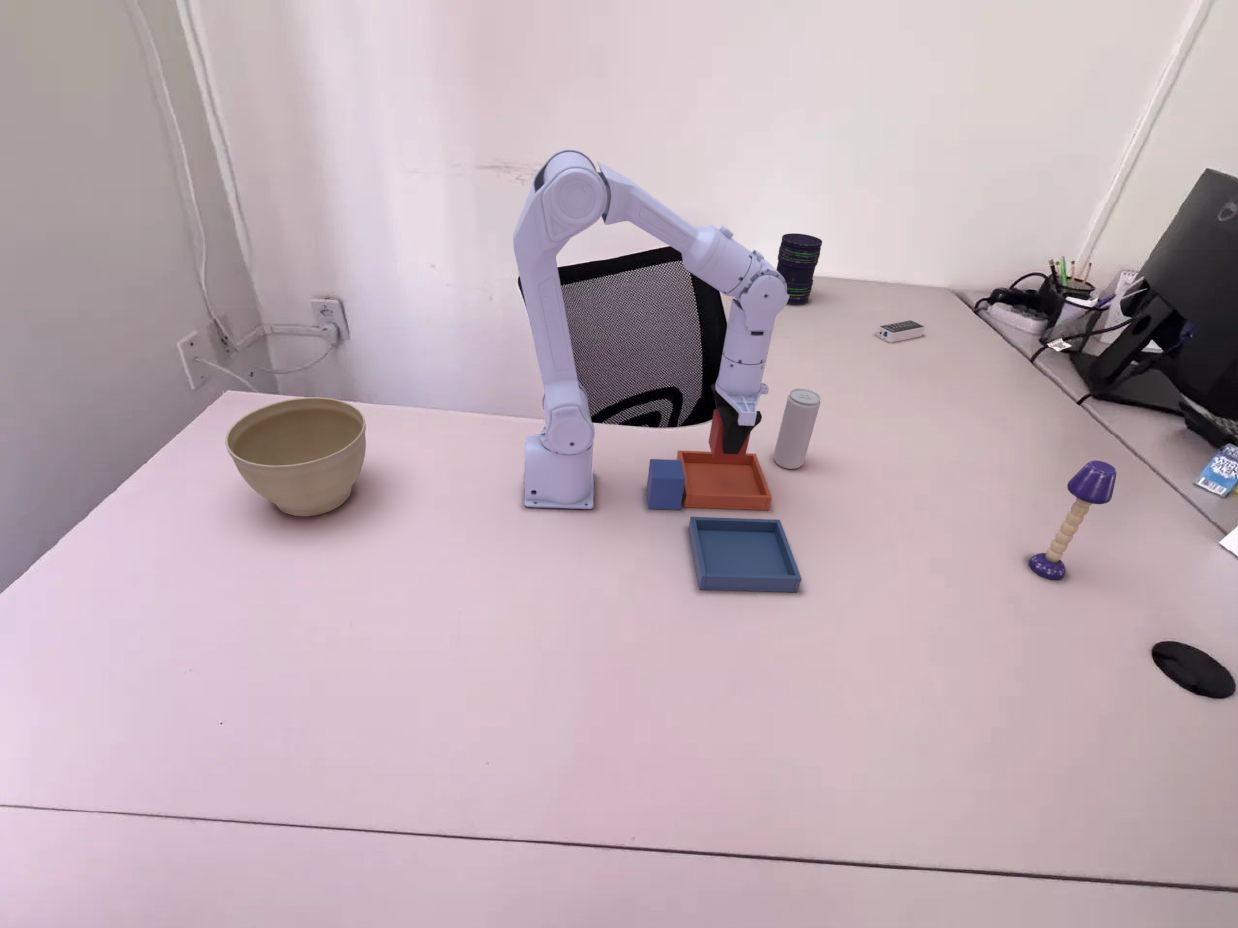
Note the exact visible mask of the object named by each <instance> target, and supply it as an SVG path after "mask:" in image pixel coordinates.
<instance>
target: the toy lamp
mask: <svg viewBox="0 0 1238 928" xmlns="http://www.w3.org/2000/svg"><path fill="white" fill-rule="evenodd" d="M1116 478H1117V469H1116V468H1115V467H1114V466H1113V465H1112V464H1110V463H1108V462H1106V461H1103V460H1098V459H1097V460H1095V459H1094V460H1090V461H1088V462H1087V463H1085V464H1084V466H1082V468H1081V469H1080V470H1078V472H1077V473H1076V474H1075V475H1074V476H1072V477H1071V478H1070V480H1069V481H1068V482H1067V485H1066V487H1067V490H1068V492H1069V493H1070V494H1071V495H1072V496H1073V497H1075V501H1074V502H1073V503H1072V505H1071V506H1070V511H1068V513H1067V514H1066V515H1065V520H1063V522H1062V523H1061V525H1060V526H1059V527H1060V529H1059V530H1057V531H1056V533H1055V536H1054V537H1055V538H1053V540H1051V543H1050V547H1049V548H1047V550H1046V552H1040V553H1039V552H1038V553H1036V554H1033V556H1031V557H1030V558H1029V560H1028V565H1029V567H1030V569H1031V570H1032V572H1034V573H1035V574H1037V575H1038V576H1040V577H1042V578H1044V579H1046V580H1051V581H1052V580H1053V581H1058V580H1059V581H1060V580H1063V578H1064V577H1065V575H1066V566H1065V564H1064V562H1063V561H1062V557H1063V554H1064V553H1065V552H1066V550H1067V549H1068V547H1069V544H1070V543H1071V542H1072V541H1073V538H1074V535H1076V533H1077V532H1078V531H1079V526H1080V525H1081V524H1082V523H1083V521H1084V520H1085V518H1084V517H1085V516H1086V515H1087V514H1088V513H1089V511H1090V507H1091V506H1092V505H1106V504H1107V503H1109V502H1111V500H1112V498H1113V494H1114V490H1115V484H1116V480H1117V479H1116Z"/></svg>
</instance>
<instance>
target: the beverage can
mask: <svg viewBox="0 0 1238 928" xmlns="http://www.w3.org/2000/svg"><path fill="white" fill-rule="evenodd" d="M821 398H822V397H821V395H820V394H818V393H817V392H816V391H814V390H812V389H807V388H793V389H792V390H790V391H789V394H788V396H787V398H786V403H785V407H784V411H783V416H782V419H781V422H780V426H779V431H778V435H777V439H776V443H775V448H774V452H773V456H772V457H773V460H774V462H775V463H776V464H777V465H778V466H779V467H782V468H783V469H788V470H796V469H798V468H800V467H802V466H803V465H804V463H805V460H806V456H807V453H808V449H809V445H810V442H811V439H812V435H813V432H814V427H815V424H816V421H817V417H818V413H819V409H820V406H821V400H822V399H821Z"/></svg>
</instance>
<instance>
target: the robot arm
mask: <svg viewBox="0 0 1238 928" xmlns="http://www.w3.org/2000/svg"><path fill="white" fill-rule="evenodd" d="M596 164H597V166H598V168H599V171H597V168H596V165H595V164H594V162H593V161H592V159H591V158H590V157H589V156H588V155H587V154H585V153H584V152H582V151H580V150H577V149H573V148H568V149H567V148H566V149H561V150H559V151H557V152H555V153H554V154H552V155H551V156H550V157H549V158H548V159H547V160H546V161H545V162H544V163H543V164H542V166H541V167H540V168H539V169H538V170H537V172H536V173H535V174H534V175H533V178H532V182H531V186H530V188H529V192H528V194H527V196H526V199H525V202H524V205H523V207H522V209H521V212H520V214H519V218H518V220H517V222H516V225H515V228H514V230H513V234H512V241H513V243H512V244H513V253H514V257H515V262H516V265H517V271H518V276H519V280H520V285H521V290H522V294H523V298H524V303H525V308H526V312H527V317H528V321H529V326H530V331H531V335H532V340H533V344H534V348H535V353H536V358H537V363H538V366H539V371H540V377H541V381H542V387H543V395H542V400H541V402H542V403H541V405H542V407H543V413H544V426H543V428H542V430H541V431H540V433H538V434H537V433H536V434H529V435H526V438H525V444H524V445H525V447H524V463H523V464H524V467H523V468H524V470H523V484H524V507H526V508H546V509H547V508H549V509H573V510H574V509H575V510H577V509H579V510H592V509H594V474H593V473H592V472H593V456H594V455H593V454H594V439H595V434H596V431H595V426H594V423H593V422H592V417H591V411H590V407H589V395H588V392H587V391H586V389H585V388H584V387H583V386H582V384H581V383H580V381H579V379H578V373H577V368H576V362H575V356H574V351H573V346H572V340H571V334H570V330H569V329H570V328H569V324H568V318H567V312H566V307H565V302H564V296H563V291H562V285H561V279H560V273H559V269H558V268H559V267H558V262H557V255H558V254H559V253H560V252H561V250H562V249H563V248H564V247H565V246H566V244H567V243H568V242H569V241H570V240H571V239H572V238H573V237H575V236H577V235H579V234H580V233H582V232H584V231H585V230H587V229H589V228H591V226H593V225H595V224H596V223H597V222H598V221H599V220H600V219H602V221H603V223H604V225H606V226H607V225H608V226H609V225H614V224H617V223H622V222H629V223H631V224H633V225H634V226H635V227H637V228H639V229H641V230H643V231H644V232H646V233H648V234H649V235H651V236H652V237H654V238H656V239H657V240H659V241H661V242H663V243H664V244H666V245H668V246H669V247H671V248H673V249H674V250H676V251H678V252H679V253H681V258H682V259H681V260H682V265H683V268H684V269H685V270H686V271H687V272H689V273H691V274H692V275H694V276H695V277H697V278H698V279H700V280H702V281H703V282H704V283H706V284H707V285H709V286H711V287H712V288H714V289H715V290H717V291H718V292H720V293H722V294H723V295H724V296H727V297H733V298H732V299H731V304H730V310H729V316H728V318H727V325H726V331H725V337H724V342H723V348H722V352H721V353H722V355H721V359H720V366H719V371H718V376H717V379H716V381H715V383H712V384H711V385H710V388H711V392H712V394H713V397H714V404H715V409H718V411H719V414H720V417H721V420H722V428H723V436H722V447H723V452H724V454H738V453H739V452H740V450H741V448H742V446H743V444H744V442H745V440H746V438H747V437H748V435H749V433H750V432H752V431H753V430H754V429H755V428H756V427H757V426H758V425H759V424H760V423H761V421H762V419H763V416H762V413H761V411H760V410H757V407H758V403H759V400H760V397H761V395H768V394H769V392H770V388H769V386H768V384H767V383H765V382H762V381H763V378H764V372H765V368H766V363H767V359H768V354H769V349H770V345H771V340H772V336H773V331H774V327H775V321H776V318H777V315H778V314H779V313H780V312H782V310H783V309H784V308H785V307H786V304H787V302H788V299H789V295H787V284H786V283H785V279H784V277H783V276H782V275H781V274H780V273H779V272H778V271H777V270H776V269H777V268H775V267H774V266H773V265H772V263H770V262H769V261H767V260H766V259H765V257H764V255H763V254H762V253H761V252H760V251H758V250H757V249H753V250H752V251H751V250H750V249H748V248H747V247H745V246H744V245H742V244H741V243H739V242H738V241H737V240H735V239H734V238H733V236H734V232H733V231H731V229H729V228H727V227H726V226H725V225H722V226H721V227H720V228H718V227H716V226H715V225H713V224H707V225H703V226H694V225H693V224H691V223H690V222H689V221H688V220H686V219H685V218H683V216H680V215H679V214H677V213H676V212H675V211H673V210H672V209H671V208H670V207H668V206H667V205H666V204H664V203H663V202H661V201H660V200H659V199H657V198H656V197H654V196H653V195H652V194H651V193H650V192H648V191H647V190H646V189H644V188H643V187H641V186H640V185H639V184H637V183H636V182H635V181H633V180H631V179H630V178H628V177H627V176H625V175H623V174H621V173H620V172H618V171H616V170H615V169H613V168H612V167H610V166H608V165H606V164H604V163H601V162H599V161H596ZM750 434H751V433H750Z"/></svg>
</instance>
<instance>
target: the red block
mask: <svg viewBox="0 0 1238 928" xmlns="http://www.w3.org/2000/svg"><path fill="white" fill-rule="evenodd" d="M710 425H711V426H710V431H709V437H708V445H709V449H710V452H711V453H712V457H713V459H722V460H745V456H746V453H748V452H747V450H748V446H749V442H750V437H751V432H752V431H751V432H750V433H749V435H748V437H747V438H746V440H745V442H744V444H743V446H742V448H741V450H740V452H739V453H738V454H724V452H723V447H722V436H723V428H722V420H721V417H720V414H719V411H718V409H716V408H714V409H713V414H712V419H711V424H710Z"/></svg>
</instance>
